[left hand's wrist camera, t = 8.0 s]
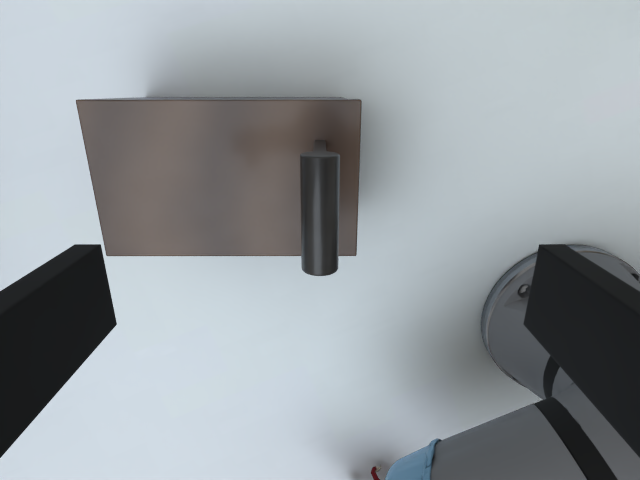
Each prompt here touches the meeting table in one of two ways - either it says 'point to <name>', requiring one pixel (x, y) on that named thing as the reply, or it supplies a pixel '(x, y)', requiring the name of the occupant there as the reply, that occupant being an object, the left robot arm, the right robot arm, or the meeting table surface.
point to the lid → (226, 177)
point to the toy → (373, 472)
